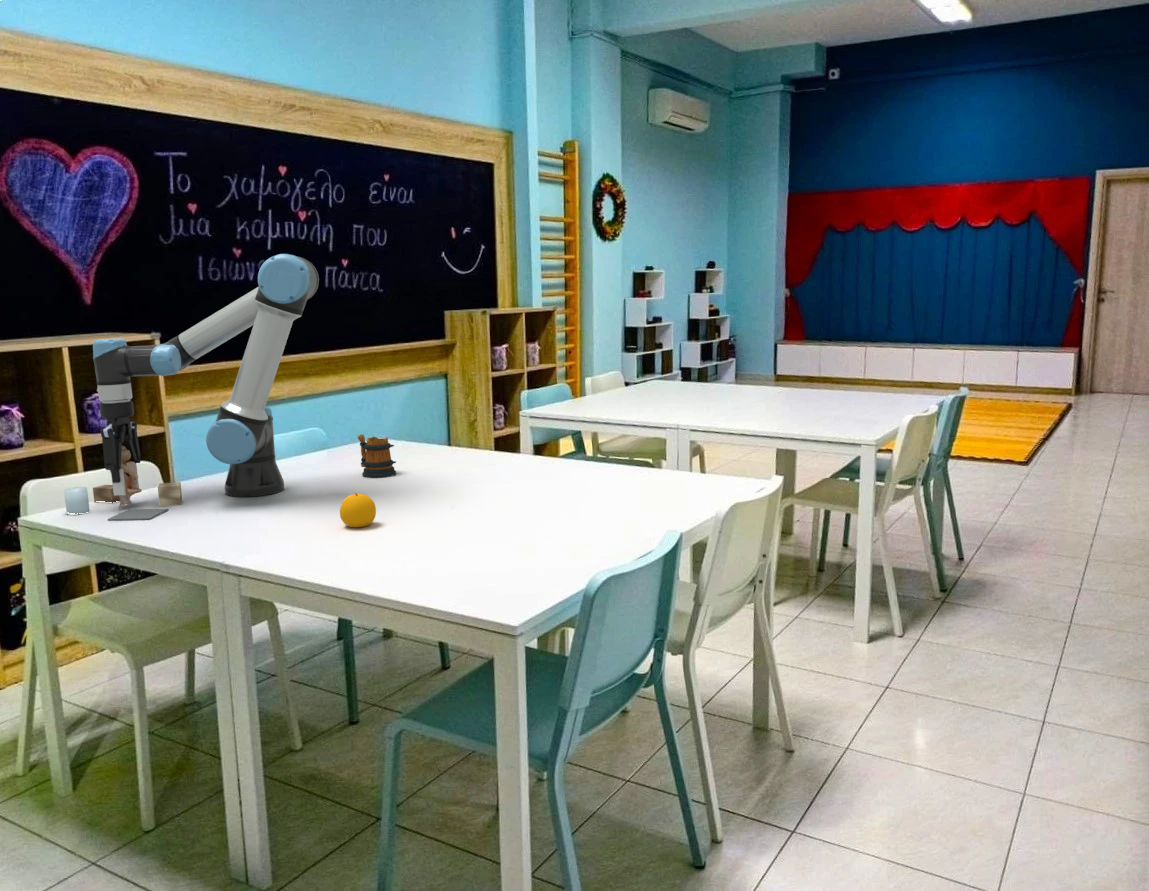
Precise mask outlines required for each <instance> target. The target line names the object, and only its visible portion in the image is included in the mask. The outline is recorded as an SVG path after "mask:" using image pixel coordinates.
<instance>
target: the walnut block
mask: <svg viewBox="0 0 1149 891" xmlns="http://www.w3.org/2000/svg"><path fill="white" fill-rule="evenodd" d="M92 494H93V495H92V496H93V502H94V503H97V502H96V501H105V502H112V503H111V504H114V503H113V502H116V501H119V502H120V499H119V497H118V495H114V493H113V484H101V485H98V486H94V487H92ZM116 503H117V502H116Z"/></svg>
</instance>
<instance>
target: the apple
mask: <svg viewBox="0 0 1149 891" xmlns="http://www.w3.org/2000/svg"><path fill="white" fill-rule="evenodd" d="M376 514H377V508H376V504H375V502H374V501H373V499H372V498H371V497H370V496H368V495H366V494H363V493H357V492H356V493H354V494H349V495H348V496H346V498H344V499H343V500H342V503H341V505H340V508H339V516H340V519H341V522H343V524H344V525H346V526H348V527H350V528H363V527H367V526H369V525H370V524H372V523H373V522H374V521H375V519H376Z"/></svg>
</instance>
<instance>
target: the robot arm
mask: <svg viewBox="0 0 1149 891" xmlns="http://www.w3.org/2000/svg"><path fill="white" fill-rule="evenodd" d="M319 281H320V277H319V272H318V271H317V269H316V267H315V266H314V265H313V263H312V262H311V261H309V260H307V259H306V258H304V257H300V256H296V255H294V254H289V253H279V254H276V255H273V256H271V257H269V258H268V259H266V260H265V261H264V262H263V263H262V264H261V266H260V268H259V271H258V274H257V284H258V286H257V287H256V288H254V289H252V290H251V291H249V292H247V293H246V294H244V295H243V296H240V297H239V298H237V299H236V300H234V301H232V302H231V303H229V304H228V305H226V306H224V307H223V308H221V309H219V310H217V311H216V312H214V313H212V314H211V315H210V316H208V317H206V318H204V319H202V320H201V321H199V322H198V323H196V324H195V325H193V326H191V327H190V328H188V329H186V330H185V331H183V332H181V333H180V334H179V335H177V336H175V337H172V338H171V339H169V340H168V341H167V342H164V343H159V344H152V345H151V344H150V345H136V346H134V345H133V346H132V345H131V346H130V345H128V344H127V341H126V339H125V338H102V339H101V338H100V339H96V340H94V341H93V342H92V351H93V352H92V355H93V356H92V359H93V363H94V364H93V365H94V371H95V376H96V378H95V379H96V385H97V387H96V392H97V393H98V394H97V395H98V400H99V402H101V403H100V404H99V413H100V417H101V418H102V419H106V427H105V428H100V430H99V433H100V436H101V439H102V449H103V451H102V452H103V462H104V463H103V464H104V468H105V470H106V471H110V470H111V472H110V475H111V483H112V484H111V485H113V493H114V495H126V489H125V481H124V472H123V469H121V451H122V446H125V447H126V449H127V450H129V451H130V454H131V457H130V459H129V461H128V462H130V461H132V462H135V464H136V469H137V470H138V467H137V464H141V451H140V450H141V449H140V444H139V437H138V430H137V429H138V424H137V421H131V419H130V417H133V416H134V415H135V407H134V402H133V401H132V398H133V390H132V382H131V377H155V376H157V377H158V376H161V377H165V376H171V375H172V376H173V375H176V374H178V373H179V371H180V372H181V371H182V370H184V369H186V368H187V367H189V365H191V363H193V362H194V361H196V360H198V359H199V358H201V357H202V356H204V355H206V354H208V353H209V352H211V351H212V350H214V349H216V348H217V347H219V346H221V345H222V344H224V343H226V342H227V341H229V340H231V339H232V338H234V337H236V336H238V335H239V334H241V333H243V332H244V331H246V330H248V329H249V328H251V327H252V329H251V331H250V332H251V333H250V335H249V338H248V341H247V345H246V348H245V350H244V353H243V356H242V361H241V363H240V366H239V369H238V372H237V376H236V378H235V382H234V385H233V388H232V391H231V394H230V397H229V399H228V400H226V401H224V402H221V404H220V407H219V410H218V413H217V416H216V418H215V422H213V423H212V424H211V425H210V427H209V428H208V431H207V433H206V437H205V443H206V447H207V450H208V451H209V453H210V454H211V456H212V457H213V458H214V459H216V460H217V461H218V462H220V463H223V464H227V465H229V467H228V472H227V474H226V479H225V483H224V494H225V495H226V496H229V497H239V498H240V497H242V498H243V497H261V496H266V495H267V496H268V495H272V494H275V493H276V494H277V493H279V492H280V493H281V492H282V491H283V490H285V481H284V478H283V476H282V474H281V471H280V469H279V467H278V465H277V461H276V452H275V450H276V448H275V434H274V423H273V422H274V421H273V420H274V417H273V413H272V412H273V411H272V409H271V408H270V407H269V406H266V405H267V402H268V399H269V396H270V393H271V390H272V388H273V384H274V381H275V377H276V375H277V372H278V369H279V365H280V362H281V360H282V356H283V354H284V350H285V348H286V347H285V346H286V345H287V340H288V338H289V335H290V332H291V328H292V326H293V324H294V323H293V322H294V321H296V320H297V319H298V318H301V317H302V315H303V312H304V311H305V310H304V309H305V307H306V304H307V301H308V300H309V299H311V298H312V297H313V296H314V295H315V293H317V291H318V288H319ZM137 475H138V473H137ZM138 476H139V475H138ZM136 481H137V487H138V488H139V489H140V484H139V478H138V479H137V480H136Z"/></svg>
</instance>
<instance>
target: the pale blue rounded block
mask: <svg viewBox="0 0 1149 891" xmlns="http://www.w3.org/2000/svg"><path fill="white" fill-rule="evenodd" d="M63 490H64V491H63V492H64V502H65V509H66V513H67V512H69V513H75V514H77V513H78V514H79V513H86V512H89V511H90V503H89V502H90V501H89V493H88V487H86V486H76V487H70V488H66V489H63ZM89 513H90V512H89ZM86 514H87V513H86Z"/></svg>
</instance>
